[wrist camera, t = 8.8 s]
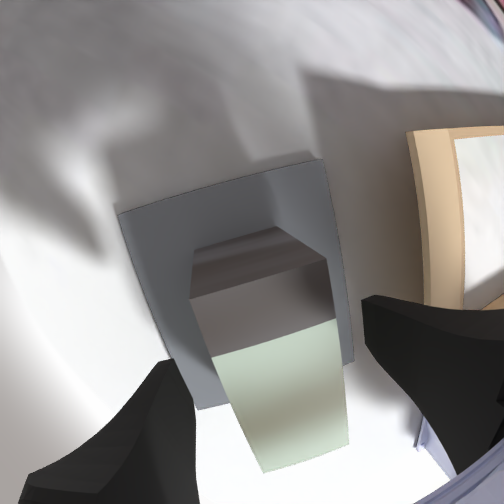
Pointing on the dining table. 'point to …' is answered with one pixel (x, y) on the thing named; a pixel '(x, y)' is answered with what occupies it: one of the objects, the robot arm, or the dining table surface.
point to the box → (273, 343)
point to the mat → (221, 229)
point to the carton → (443, 212)
